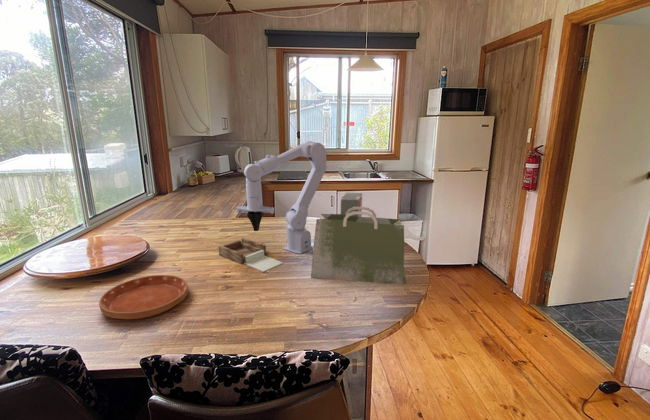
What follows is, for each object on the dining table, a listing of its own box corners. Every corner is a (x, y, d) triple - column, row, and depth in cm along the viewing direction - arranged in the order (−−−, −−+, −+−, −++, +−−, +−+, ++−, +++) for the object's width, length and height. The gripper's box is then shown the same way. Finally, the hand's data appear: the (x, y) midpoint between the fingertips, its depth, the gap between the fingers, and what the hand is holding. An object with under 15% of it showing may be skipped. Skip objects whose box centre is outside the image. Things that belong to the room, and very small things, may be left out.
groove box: (266, 254, 135) (265, 245, 134) (241, 264, 126) (240, 254, 125) (243, 246, 143) (243, 237, 142) (219, 255, 134) (218, 246, 133)
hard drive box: (357, 247, 141) (358, 200, 136) (339, 246, 143) (339, 199, 138) (361, 235, 156) (362, 192, 151) (345, 234, 158) (345, 191, 152)
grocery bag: (403, 266, 123) (407, 204, 117) (406, 284, 109) (411, 215, 103) (316, 262, 127) (315, 201, 121) (309, 278, 114) (307, 212, 108)
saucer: (166, 277, 116) (165, 267, 115) (203, 299, 102) (202, 288, 101) (89, 305, 99) (86, 294, 98) (120, 336, 85) (118, 323, 84)
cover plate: (283, 264, 126) (282, 256, 126) (263, 273, 119) (263, 264, 119) (263, 257, 133) (263, 249, 132) (244, 264, 126) (243, 256, 125)
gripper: (276, 194, 132) (277, 227, 135) (240, 193, 134) (243, 226, 138) (270, 198, 125) (272, 233, 128) (232, 197, 127) (235, 231, 131)
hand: (256, 230), depth 133 cm, fingers closed
